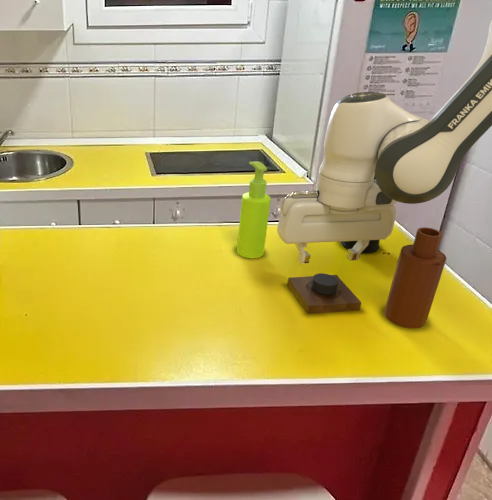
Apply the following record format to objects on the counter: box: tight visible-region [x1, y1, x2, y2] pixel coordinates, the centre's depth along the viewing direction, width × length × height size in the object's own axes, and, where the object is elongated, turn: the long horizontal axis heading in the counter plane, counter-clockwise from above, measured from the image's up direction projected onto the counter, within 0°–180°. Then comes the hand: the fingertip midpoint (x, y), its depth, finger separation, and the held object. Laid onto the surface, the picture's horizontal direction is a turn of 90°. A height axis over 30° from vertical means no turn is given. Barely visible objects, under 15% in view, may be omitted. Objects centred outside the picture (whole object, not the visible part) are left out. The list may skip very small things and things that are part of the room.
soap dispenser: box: [236, 160, 272, 259], centre depth 111 cm, size 6×7×20 cm
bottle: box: [383, 227, 448, 329], centre depth 89 cm, size 7×7×17 cm
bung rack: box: [286, 274, 362, 315], centre depth 98 cm, size 10×10×2 cm
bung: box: [311, 272, 338, 295], centre depth 98 cm, size 5×5×4 cm
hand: (327, 260), depth 95 cm, fingers open, 8 cm apart
